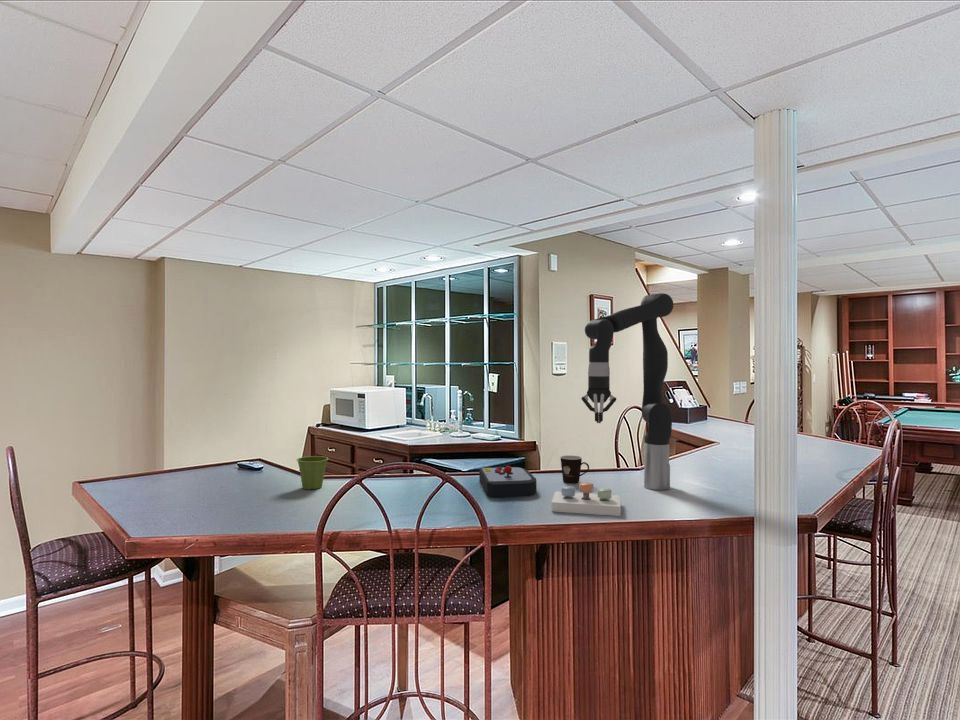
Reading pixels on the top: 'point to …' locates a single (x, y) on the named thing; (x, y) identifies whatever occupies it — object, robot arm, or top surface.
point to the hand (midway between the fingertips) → (598, 422)
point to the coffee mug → (571, 468)
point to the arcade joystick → (507, 482)
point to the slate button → (568, 491)
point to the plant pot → (312, 471)
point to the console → (586, 504)
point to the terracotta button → (586, 489)
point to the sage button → (604, 494)
